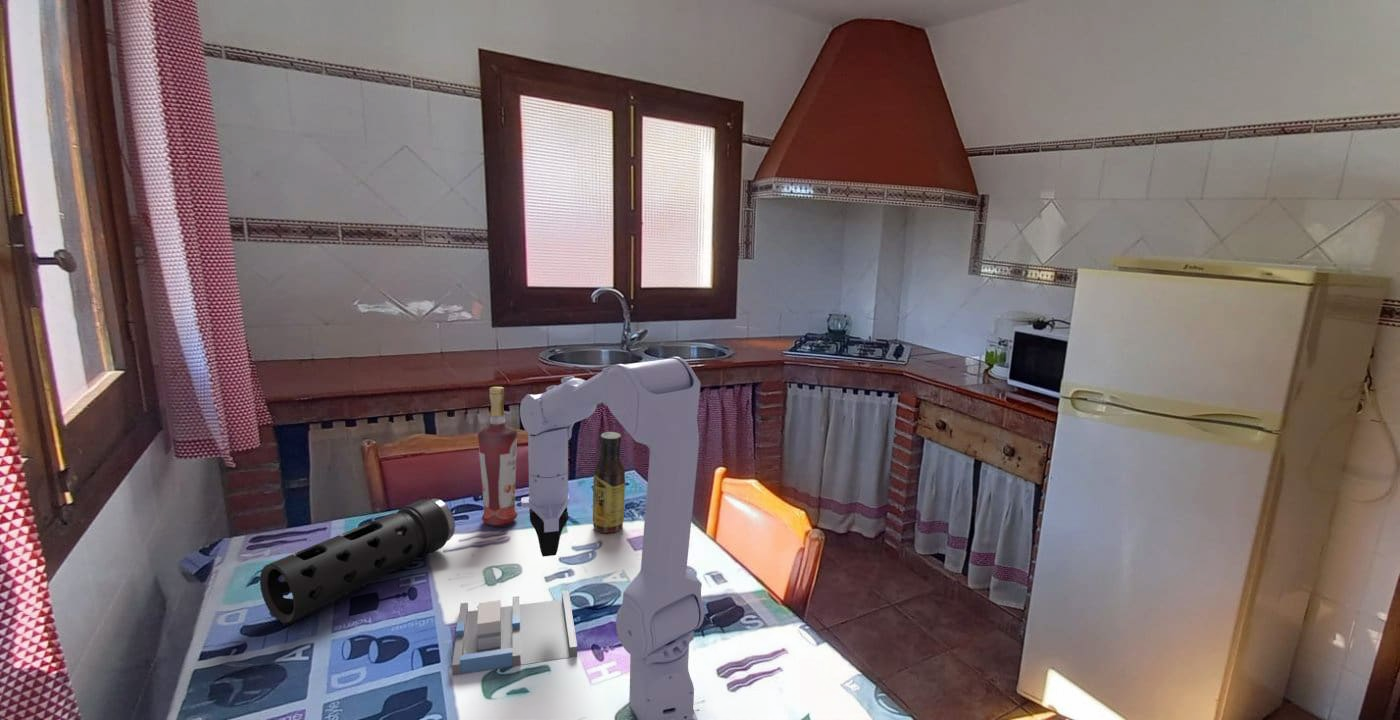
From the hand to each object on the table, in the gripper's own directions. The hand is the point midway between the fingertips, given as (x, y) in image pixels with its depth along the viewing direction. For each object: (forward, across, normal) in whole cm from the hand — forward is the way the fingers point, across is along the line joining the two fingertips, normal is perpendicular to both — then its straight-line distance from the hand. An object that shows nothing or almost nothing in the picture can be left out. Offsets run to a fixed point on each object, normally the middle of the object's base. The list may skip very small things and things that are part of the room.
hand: (548, 553), depth 94 cm
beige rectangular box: (+8, +6, -9) cm, 14 cm away
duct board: (+9, +6, -5) cm, 12 cm away
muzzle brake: (+10, -14, -28) cm, 33 cm away
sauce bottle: (+10, -25, +13) cm, 30 cm away
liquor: (+10, -32, -8) cm, 34 cm away
